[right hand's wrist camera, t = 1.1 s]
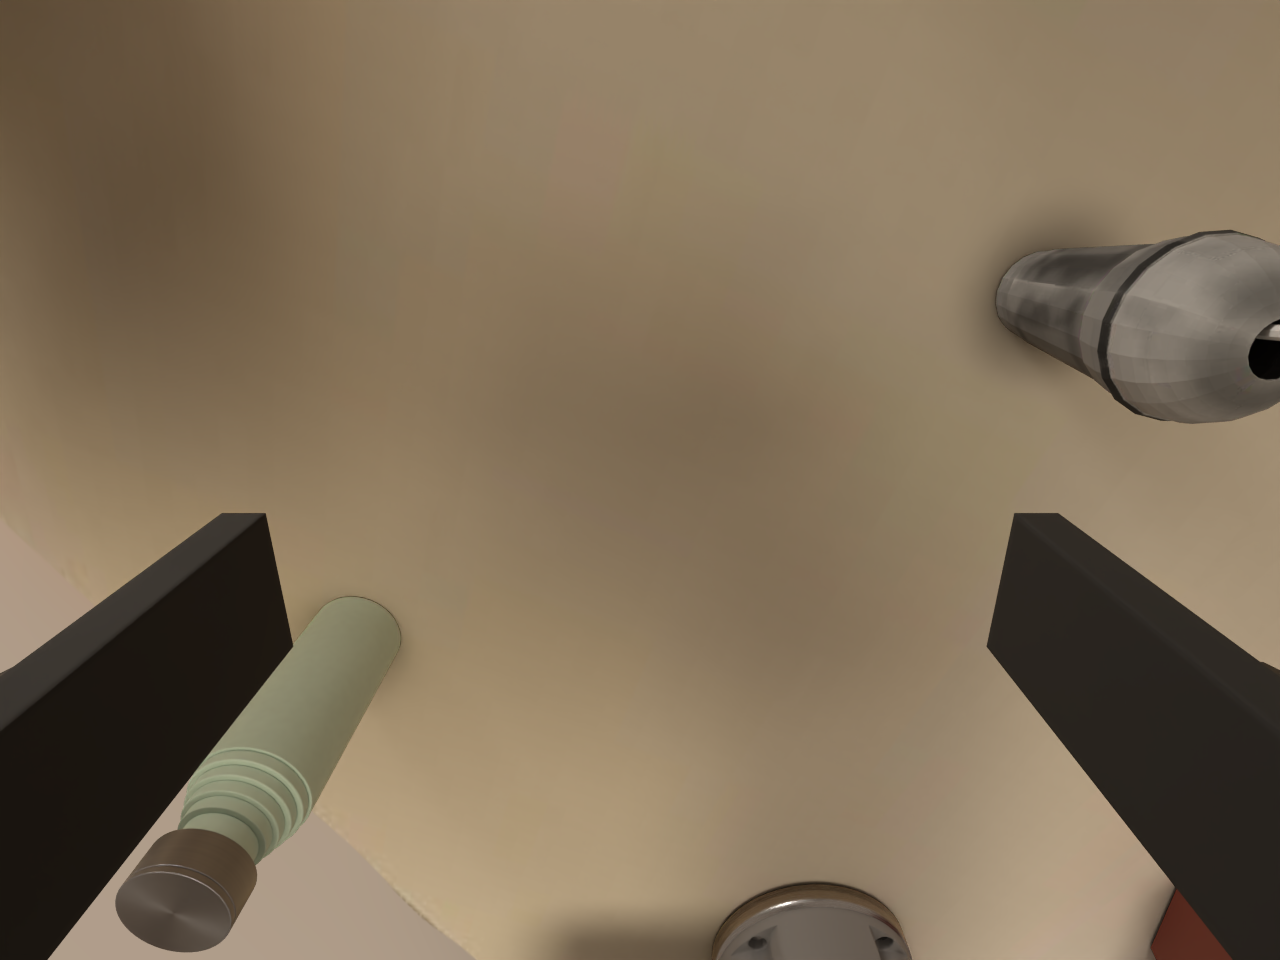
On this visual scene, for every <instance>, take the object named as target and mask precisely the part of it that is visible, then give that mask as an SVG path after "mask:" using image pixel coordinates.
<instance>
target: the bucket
mask: <svg viewBox="0 0 1280 960" xmlns="http://www.w3.org/2000/svg"><path fill="white" fill-rule="evenodd" d="M1151 949H1152V951H1153V953H1154V956H1155V958H1156V960H1232V958H1231V957H1230V956H1229V954H1228V953H1227V952H1226V951H1225V949H1224V948H1223V947H1222V946H1221V944H1220V943H1219V942H1218V940H1217V939H1216V938H1215V937H1214V935H1213V934H1212V933H1211V932H1210V930H1209V929H1208V928H1207V926H1206V925H1205V924H1204V923H1203V921H1202V920H1201V919H1200V918H1199V916H1198V915H1197V914H1196V912H1195V911H1194V910H1193V909H1192V907H1191V906H1190V905H1189V904H1188V902H1187V901H1186V900H1185V898H1184V897H1183V896H1182V895H1181V893H1180V892H1179V891H1178V890H1177V889H1176V892H1175V894H1174V896H1173V898H1172V901H1171V903H1170V905H1169V907H1168V910H1167V912H1166V914H1165V916H1164V919H1163V921H1162V923H1161V926H1160V928H1159V930H1158V932H1157V935H1156V937H1155V939H1154V941H1153V944H1152V946H1151Z"/></svg>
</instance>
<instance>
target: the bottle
mask: <svg viewBox="0 0 1280 960" xmlns="http://www.w3.org/2000/svg"><path fill="white" fill-rule="evenodd" d="M400 642H401V635H400V630H399V627H398V625H397V623H396V621H395V619H394V618H393V616H392V615H391V614H390V613H389V612H388V611H387V610H386V609H385V608H383V607H382V606H380V605H379V604H377V603H375V602H373V601H371V600H368V599H365V598H360V597H343V598H339V599H335V600H333V601H331V602H329V603H327V604H326V605H325V606H323V607H322V609H321V610H320V611H319V612H318V613H317V615H316V616H315V617H314V618H313V620H312V621H311V622H310V623H309V625H308V626H307V627H306V628H305V630H304V631H303V632H302V633H301V635H300V636H299V637H298V639H297V640H296V641H295V642H294V644H293V648H292V649H291V650H290V651H289V653H288V654H287V655H286V657H285V658H284V659H283V660H282V662H281V663H280V664H279V665H278V667H277V668H276V669H275V671H274V672H273V673H272V674H271V676H270V677H269V678H268V679H267V681H266V682H265V683H264V685H263V686H262V687H261V688H260V690H259V691H258V692H257V693H256V695H255V696H254V697H253V699H252V700H251V701H250V702H249V704H248V705H247V706H246V707H245V709H244V710H243V711H242V713H241V714H240V715H239V716H238V718H237V719H236V720H235V721H234V723H233V724H232V725H231V727H230V728H229V729H228V730H227V732H226V733H225V734H224V735H223V737H222V738H221V739H220V741H219V742H218V743H217V744H216V746H215V747H214V748H213V750H212V751H211V752H210V753H209V755H208V756H207V757H206V758H205V760H204V761H203V762H202V764H201V765H200V766H199V767H198V769H197V770H196V771H195V772H194V774H193V776H192V778H191V779H190V781H189V784H188V788H187V794H186V797H185V801H184V808H183V810H182V813H181V821H180V823H179V826H178V830H179V829H187V828H196V829H204V830H209V831H213V832H217V833H219V834H222V835H224V836H226V837H228V838H230V839H232V840H233V841H235V842H236V843H238V844H239V845H240V846H242V847H243V848H244V849H245V850H246V851H247V853H248V854H249V855H250V856H251V858H252V859H253V861H254V864H255V865H256V864H258V863H259V862H260V861H261V860H262V858H264V857H266V856H267V855H269V854H270V853H271V852H272V851H273V850H274V849H275V848H277V847H278V846H280V845H281V844H282V843H283V842H284V841H285V840H287V839H288V838H290V837H291V836H292V835H293V834H294V833H296V831H297V830H298V829H299V827H300V826H301V825H302V824H303V823H304V822H305V821H306V819H307V818H308V816H309V814H310V813H311V811H312V809H313V807H314V805H315V804H316V802H317V800H318V798H319V796H320V794H321V792H322V791H323V789H324V787H325V785H326V783H327V781H328V780H329V778H330V776H331V774H332V772H333V770H334V769H335V767H336V765H337V763H338V761H339V759H340V757H341V756H342V754H343V752H344V750H345V748H346V746H347V745H348V743H349V741H350V739H351V737H352V735H353V733H354V732H355V730H356V728H357V726H358V724H359V722H360V721H361V719H362V717H363V715H364V713H365V711H366V710H367V708H368V706H369V704H370V702H371V700H372V698H373V697H374V695H375V693H376V691H377V689H378V687H379V686H380V684H381V682H382V680H383V678H384V676H385V674H386V673H387V671H388V669H389V667H390V665H391V663H392V662H393V660H394V658H395V656H396V654H397V652H398V650H399V647H400Z"/></svg>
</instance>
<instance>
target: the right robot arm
mask: <svg viewBox="0 0 1280 960" xmlns="http://www.w3.org/2000/svg"><path fill="white" fill-rule="evenodd" d="M292 648H293V643H292V638H291V633H290V628H289V623H288V618H287V614H286V609H285V604H284V599H283V594H282V590H281V585H280V580H279V575H278V570H277V566H276V561H275V556H274V551H273V546H272V542H271V537H270V532H269V527H268V522H267V518H266V513H222V514H220V515H219V516H217V517H216V518H215V519H213V520H212V521H211V522H209V523H208V524H207V525H205V526H204V527H203V528H201V529H200V530H198V531H197V532H196V533H194V534H193V535H192V536H190V537H189V538H188V539H186V540H185V541H184V542H182V543H181V544H179V545H178V546H177V547H175V548H174V549H173V550H171V551H170V552H169V553H167V554H166V555H165V556H163V557H162V558H160V559H159V560H158V561H156V562H155V563H154V564H152V565H151V566H150V567H148V568H147V569H146V570H144V571H143V572H141V573H140V574H139V575H137V576H136V577H135V578H133V579H132V580H131V581H129V582H128V583H126V584H125V585H124V586H122V587H121V588H120V589H118V590H117V591H116V592H114V593H113V594H112V595H110V596H109V597H107V598H106V599H105V600H103V601H102V602H101V603H99V604H98V605H97V606H95V607H94V608H93V609H91V610H90V611H89V612H87V613H86V614H84V615H83V616H82V617H80V618H79V619H78V620H76V621H75V622H74V623H72V624H71V625H70V626H68V627H67V628H65V629H64V630H63V631H61V632H60V633H59V634H57V635H56V636H55V637H53V638H52V639H51V640H49V641H48V642H46V643H45V644H44V645H42V646H41V647H40V648H38V649H37V650H36V651H34V652H33V653H31V654H30V655H29V656H27V657H26V658H25V659H23V660H22V661H21V662H19V663H18V664H17V665H15V666H14V667H12V668H10V669H8V670H6V671H4V672H2V673H0V960H48V958H49V957H50V956H51V954H52V953H53V952H54V951H55V949H56V948H57V947H58V946H59V944H60V943H61V942H62V940H63V939H64V938H65V937H66V935H67V934H68V933H69V932H70V930H71V929H72V928H73V926H74V925H75V924H76V923H77V921H78V920H79V919H80V918H81V916H82V915H83V914H84V912H85V911H86V910H87V909H88V907H89V906H90V905H91V904H92V902H93V901H94V900H95V898H96V897H97V896H98V895H99V893H100V892H101V891H102V890H103V888H104V887H105V886H106V884H107V883H108V882H109V881H110V879H111V878H112V877H113V875H114V874H115V873H116V872H117V870H118V869H119V868H120V867H121V865H122V864H123V863H124V861H125V860H126V859H127V858H128V856H129V855H130V854H131V853H132V851H133V850H134V849H135V847H136V846H137V845H138V844H139V842H140V841H141V840H142V839H143V837H144V836H145V835H146V834H147V832H148V831H149V830H150V828H151V827H152V826H153V825H154V823H155V822H156V821H157V819H158V818H159V817H160V816H161V814H162V813H163V812H164V811H165V809H166V808H167V807H168V806H169V804H170V803H171V802H172V800H173V799H174V798H175V797H176V795H177V794H178V793H179V791H180V790H181V789H182V788H183V786H184V785H185V784H186V783H187V781H188V780H189V779H190V777H191V776H192V775H193V774H194V772H195V771H196V770H197V769H198V767H199V766H200V765H201V764H202V762H203V761H204V760H205V758H206V757H207V756H208V755H209V753H210V752H211V751H212V750H213V748H214V747H215V746H216V744H217V743H218V742H219V741H220V739H221V738H222V737H223V735H224V734H225V733H226V732H227V730H228V729H229V728H230V727H231V725H232V724H233V723H234V721H235V720H236V719H237V718H238V716H239V715H240V714H241V713H242V711H243V710H244V709H245V707H246V706H247V705H248V704H249V702H250V701H251V700H252V699H253V697H254V696H255V695H256V693H257V692H258V691H259V690H260V688H261V687H262V686H263V685H264V683H265V682H266V681H267V679H268V678H269V677H270V676H271V674H272V673H273V672H274V671H275V669H276V668H277V667H278V665H279V664H280V663H281V662H282V660H283V659H284V658H285V657H286V655H287V654H288V653H289V651H290V650H291V649H292ZM987 648H988V649H989V650H990V651H991V653H992V654H993V655H994V657H995V658H996V659H997V660H998V662H999V663H1000V664H1001V665H1002V667H1003V668H1004V669H1005V671H1006V672H1007V673H1008V674H1009V676H1010V677H1011V678H1012V679H1013V681H1014V682H1015V683H1016V685H1017V686H1018V687H1019V688H1020V690H1021V691H1022V692H1023V693H1024V695H1025V696H1026V697H1027V699H1028V700H1029V701H1030V702H1031V704H1032V705H1033V706H1034V707H1035V709H1036V710H1037V711H1038V713H1039V714H1040V715H1041V716H1042V718H1043V719H1044V720H1045V721H1046V723H1047V724H1048V725H1049V727H1050V728H1051V729H1052V730H1053V732H1054V733H1055V734H1056V736H1057V737H1058V738H1059V739H1060V741H1061V742H1062V743H1063V744H1064V746H1065V747H1066V748H1067V750H1068V751H1069V752H1070V753H1071V755H1072V756H1073V757H1074V758H1075V760H1076V761H1077V762H1078V764H1079V765H1080V766H1081V767H1082V769H1083V770H1084V771H1085V772H1086V774H1087V775H1088V776H1089V778H1090V779H1091V780H1092V781H1093V783H1094V784H1095V785H1096V786H1097V788H1098V789H1099V790H1100V792H1101V793H1102V794H1103V795H1104V797H1105V798H1106V799H1107V800H1108V802H1109V803H1110V804H1111V806H1112V807H1113V808H1114V809H1115V811H1116V812H1117V813H1118V814H1119V816H1120V817H1121V818H1122V820H1123V821H1124V822H1125V823H1126V825H1127V826H1128V827H1129V828H1130V830H1131V831H1132V832H1133V834H1134V835H1135V836H1136V837H1137V839H1138V840H1139V841H1140V842H1141V844H1142V845H1143V846H1144V848H1145V849H1146V850H1147V851H1148V853H1149V854H1150V855H1151V856H1152V858H1153V859H1154V860H1155V862H1156V863H1157V864H1158V865H1159V867H1160V868H1161V869H1162V870H1163V872H1164V873H1165V874H1166V876H1167V877H1168V878H1169V879H1170V881H1171V882H1172V883H1173V884H1174V886H1175V887H1176V888H1177V890H1178V891H1179V892H1180V893H1181V895H1182V896H1183V897H1184V898H1185V900H1186V901H1187V902H1188V904H1189V905H1190V906H1191V907H1192V909H1193V910H1194V911H1195V912H1196V914H1197V915H1198V916H1199V918H1200V919H1201V920H1202V921H1203V923H1204V924H1205V925H1206V926H1207V928H1208V929H1209V930H1210V932H1211V933H1212V934H1213V935H1214V937H1215V938H1216V939H1217V940H1218V942H1219V943H1220V944H1221V946H1222V947H1223V948H1224V949H1225V951H1226V952H1227V953H1228V954H1229V956H1230V957H1231V958H1232V960H1280V670H1278V669H1276V668H1274V667H1272V666H1270V665H1268V664H1266V663H1264V662H1259V661H1258V660H1257V659H1255V658H1254V657H1253V656H1251V655H1250V654H1249V653H1247V652H1246V651H1244V650H1243V649H1242V648H1240V647H1239V646H1238V645H1236V644H1235V643H1234V642H1232V641H1231V640H1230V639H1228V638H1227V637H1225V636H1224V635H1223V634H1221V633H1220V632H1219V631H1217V630H1216V629H1215V628H1213V627H1212V626H1211V625H1209V624H1208V623H1206V622H1205V621H1204V620H1202V619H1201V618H1200V617H1198V616H1197V615H1196V614H1194V613H1193V612H1192V611H1190V610H1189V609H1187V608H1186V607H1185V606H1183V605H1182V604H1181V603H1179V602H1178V601H1177V600H1175V599H1174V598H1173V597H1171V596H1170V595H1168V594H1167V593H1166V592H1164V591H1163V590H1162V589H1160V588H1159V587H1158V586H1156V585H1155V584H1153V583H1152V582H1151V581H1149V580H1148V579H1147V578H1145V577H1144V576H1143V575H1141V574H1140V573H1139V572H1137V571H1136V570H1134V569H1133V568H1132V567H1130V566H1129V565H1128V564H1126V563H1125V562H1124V561H1122V560H1121V559H1120V558H1118V557H1117V556H1115V555H1114V554H1113V553H1111V552H1110V551H1109V550H1107V549H1106V548H1105V547H1103V546H1102V545H1101V544H1099V543H1098V542H1096V541H1095V540H1094V539H1092V538H1091V537H1090V536H1088V535H1087V534H1086V533H1084V532H1083V531H1082V530H1080V529H1079V528H1077V527H1076V526H1075V525H1073V524H1072V523H1071V522H1069V521H1068V520H1067V519H1065V518H1064V517H1063V516H1061V515H1060V514H1058V513H1014V518H1013V522H1012V527H1011V532H1010V537H1009V542H1008V546H1007V551H1006V556H1005V561H1004V566H1003V570H1002V575H1001V580H1000V585H999V590H998V594H997V599H996V604H995V609H994V614H993V618H992V623H991V628H990V633H989V638H988V642H987ZM712 960H912V957H911V954H910V951H909V948H908V945H907V943H906V940H905V937H904V934H903V931H902V929H901V926H900V924H899V922H898V921H897V919H896V918H895V916H894V915H893V914H892V913H891V912H890V910H888V909H887V908H886V907H885V906H884V905H883V904H881V903H880V902H879V901H877V900H875V899H874V898H872V897H870V896H868V895H866V894H864V893H861V892H859V891H856V890H853V889H849V888H845V887H840V886H834V885H822V884H811V885H799V886H792V887H787V888H783V889H779V890H775V891H772V892H769V893H767V894H764V895H762V896H759V897H757V898H756V899H754V900H752V901H750V902H748V903H747V904H745V905H743V906H742V907H741V908H739V909H738V910H737V911H736V912H735V913H733V914H732V915H731V916H730V917H729V918H728V919H727V921H726V922H725V923H724V924H723V926H722V927H721V928H720V930H719V932H718V934H717V936H716V938H715V941H714V944H713V949H712Z"/></svg>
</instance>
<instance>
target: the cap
mask: <svg viewBox="0 0 1280 960" xmlns="http://www.w3.org/2000/svg"><path fill="white" fill-rule="evenodd" d="M256 881H257V870H256V866H255V864H254V861H253V859H252V858H251V856H250V855H249V854H248V853H247V851H246V850H245V849H244V848H243V847H242V846H240V845H239V844H238V843H236V842H235V841H233V840H232V839H230V838H228V837H226V836H224V835H222V834H219V833H217V832H213V831H209V830H204V829H196V828H187V829H179V830H175V831H172V832H169V833H167V834H165V835H163V836H162V837H160V838H159V839H158V840H157V841H156V842H155V843H154V844H153V845H152V847H151V848H150V849H149V851H148V852H147V853H146V855H145V856H144V857H143V858H142V860H141V861H140V862H139V864H138V865H137V866H136V868H135V869H134V870H133V872H132V873H131V874H130V875H129V877H128V878H127V879H126V881H125V882H124V883H123V885H122V886H121V888H120V889H119V891H118V893H117V895H116V901H115V904H116V911H117V914H118V916H119V918H120V920H121V921H122V923H123V924H124V925H125V927H126V928H127V929H128V930H129V931H130V932H131V933H133V934H134V935H135V936H137V937H138V938H140V939H141V940H143V941H145V942H146V943H148V944H151V945H153V946H156V947H158V948H161V949H165V950H170V951H175V952H198V951H203V950H206V949H209V948H212V947H214V946H216V945H217V944H219V943H220V942H221V941H222V940H224V939H225V937H226V936H227V935H228V933H229V932H230V930H231V928H232V926H233V924H234V923H235V921H236V919H237V917H238V916H239V914H240V912H241V910H242V909H243V907H244V905H245V903H246V901H247V900H248V898H249V896H250V894H251V893H252V891H253V889H254V887H255V885H256Z"/></svg>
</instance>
